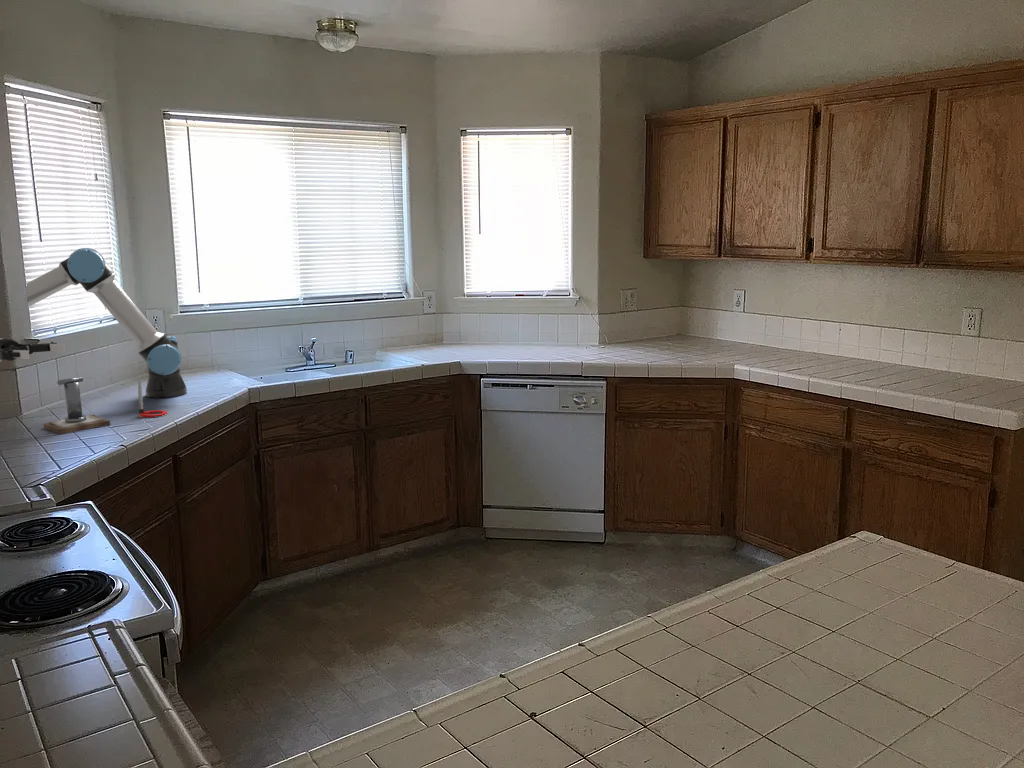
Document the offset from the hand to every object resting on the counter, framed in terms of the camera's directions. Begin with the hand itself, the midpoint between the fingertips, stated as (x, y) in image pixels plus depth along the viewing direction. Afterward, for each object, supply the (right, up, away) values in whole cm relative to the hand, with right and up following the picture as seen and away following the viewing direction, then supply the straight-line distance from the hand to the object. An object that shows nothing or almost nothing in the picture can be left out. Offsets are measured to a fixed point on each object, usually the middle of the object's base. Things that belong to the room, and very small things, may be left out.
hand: (46, 351), depth 277 cm
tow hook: (+29, -22, +16) cm, 40 cm away
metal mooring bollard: (+9, -23, +1) cm, 25 cm away
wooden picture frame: (+10, -25, +1) cm, 27 cm away
